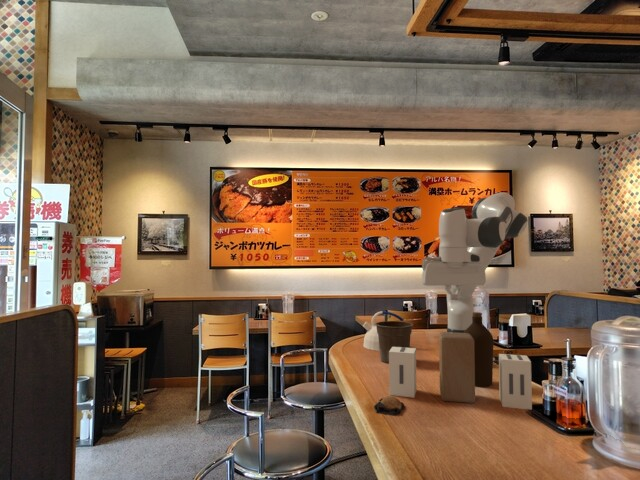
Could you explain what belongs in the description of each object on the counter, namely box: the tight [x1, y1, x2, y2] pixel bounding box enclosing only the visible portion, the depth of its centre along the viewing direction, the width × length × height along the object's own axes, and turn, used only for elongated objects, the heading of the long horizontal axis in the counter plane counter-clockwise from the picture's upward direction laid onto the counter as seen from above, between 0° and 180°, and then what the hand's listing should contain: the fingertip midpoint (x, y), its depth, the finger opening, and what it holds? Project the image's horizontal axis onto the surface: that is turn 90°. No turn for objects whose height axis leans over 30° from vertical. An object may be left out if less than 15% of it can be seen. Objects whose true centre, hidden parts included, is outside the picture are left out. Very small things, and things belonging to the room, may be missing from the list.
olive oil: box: [464, 311, 495, 388], centre depth 148 cm, size 11×11×25 cm
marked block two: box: [498, 353, 533, 411], centre depth 126 cm, size 8×8×14 cm
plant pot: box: [375, 320, 414, 364], centre depth 179 cm, size 16×16×16 cm
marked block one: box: [388, 347, 417, 398], centre depth 137 cm, size 8×8×14 cm
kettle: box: [362, 310, 404, 352], centre depth 208 cm, size 20×21×18 cm
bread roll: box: [373, 396, 406, 417], centre depth 122 cm, size 11×8×4 cm
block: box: [438, 331, 476, 404], centre depth 132 cm, size 10×10×20 cm
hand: (453, 299), depth 133 cm, fingers closed
